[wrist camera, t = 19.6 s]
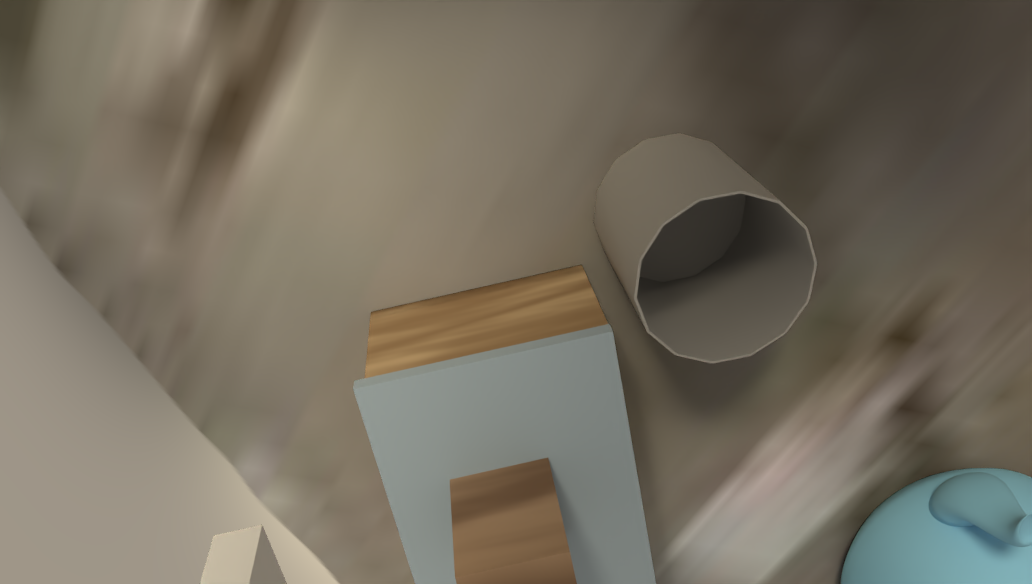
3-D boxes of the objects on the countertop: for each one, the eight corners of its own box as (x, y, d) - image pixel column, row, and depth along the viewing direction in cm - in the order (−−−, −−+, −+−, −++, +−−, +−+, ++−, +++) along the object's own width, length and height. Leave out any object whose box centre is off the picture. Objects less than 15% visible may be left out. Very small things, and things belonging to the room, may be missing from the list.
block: (449, 479, 45) (454, 577, 39) (548, 457, 45) (569, 551, 39) (471, 556, 47) (480, 661, 41) (565, 535, 47) (588, 637, 41)
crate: (370, 312, 51) (364, 383, 43) (581, 264, 51) (610, 328, 44) (437, 535, 57) (440, 630, 50) (623, 493, 58) (653, 581, 50)
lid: (354, 380, 43) (353, 389, 43) (609, 323, 43) (612, 331, 43) (435, 636, 50) (435, 647, 50) (654, 586, 50) (658, 596, 50)
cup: (697, 102, 48) (764, 154, 39) (769, 221, 51) (847, 294, 42) (564, 195, 49) (599, 266, 40) (643, 305, 52) (691, 393, 43)
